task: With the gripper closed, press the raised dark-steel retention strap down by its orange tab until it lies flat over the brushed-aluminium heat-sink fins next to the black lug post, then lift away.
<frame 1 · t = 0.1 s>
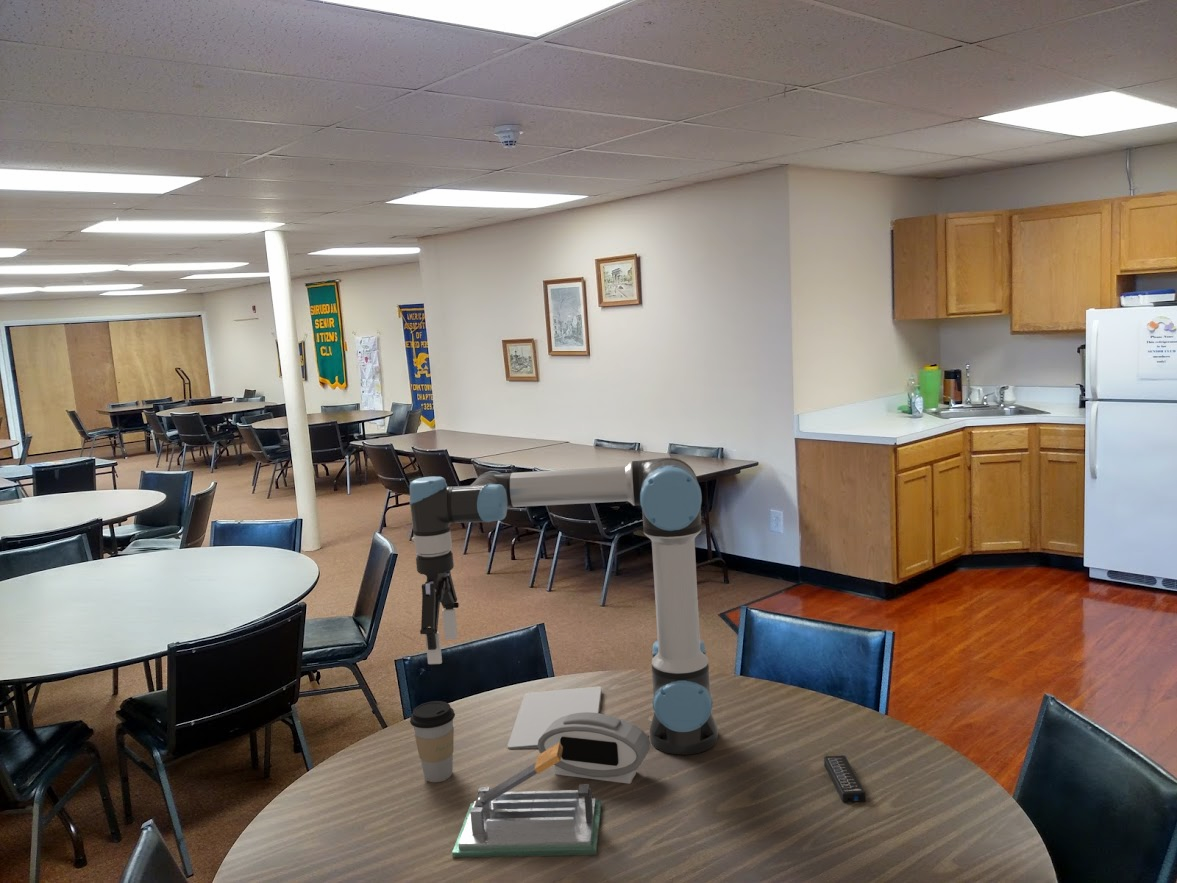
hand: (443, 650, 181), 28 cm above the table, fingers open, 13 cm apart
multiport hub: (844, 785, 171), on the table
heatsink: (530, 830, 162), on the table
coffee cup: (438, 775, 185), on the table
strap: (518, 778, 161), point 11 cm above the table, hinge at 30.0°
alarm clock: (595, 774, 181), on the table
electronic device: (557, 721, 208), on the table
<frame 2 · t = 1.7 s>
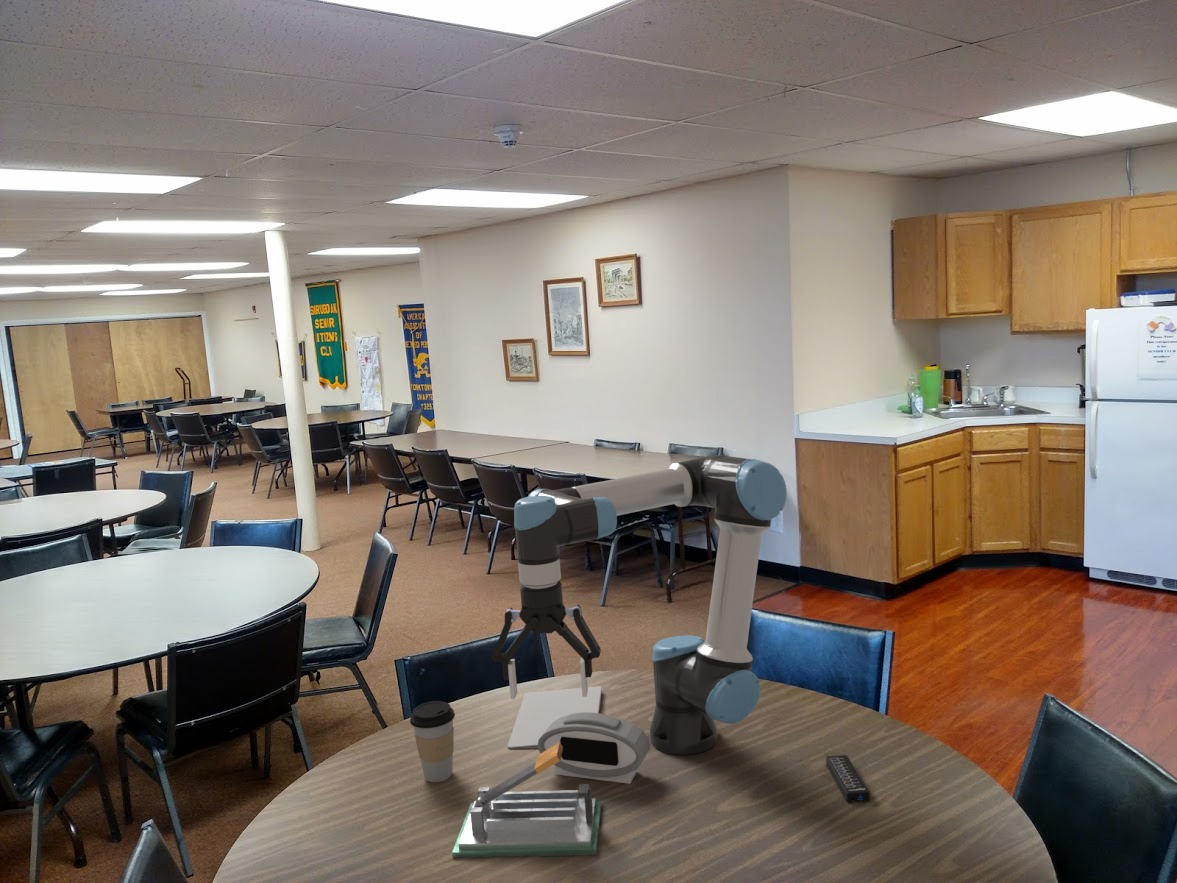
hand: (549, 694, 159), 27 cm above the table, fingers open, 12 cm apart
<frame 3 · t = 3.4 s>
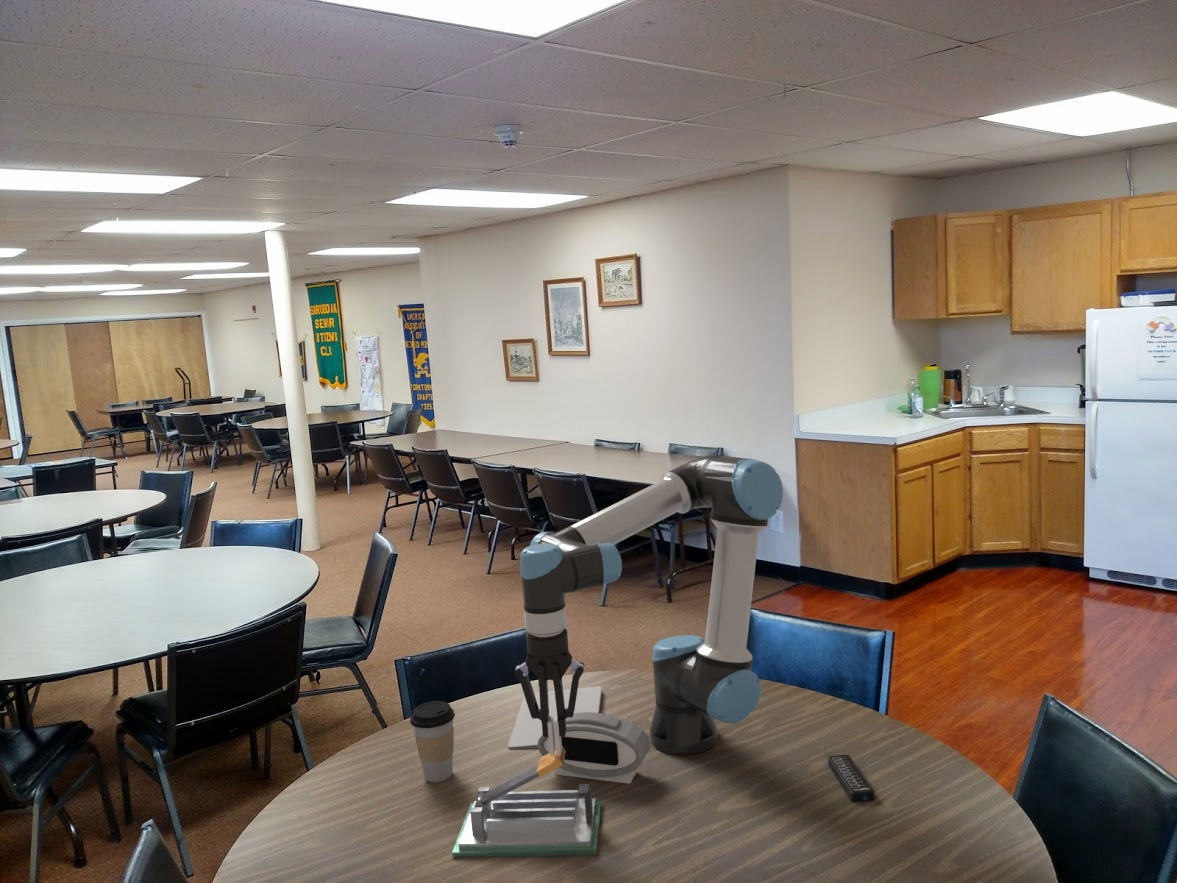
hand: (556, 752, 160), 16 cm above the table, fingers closed
strap: (519, 780, 161), point 10 cm above the table, hinge at 27.1°, touching gripper
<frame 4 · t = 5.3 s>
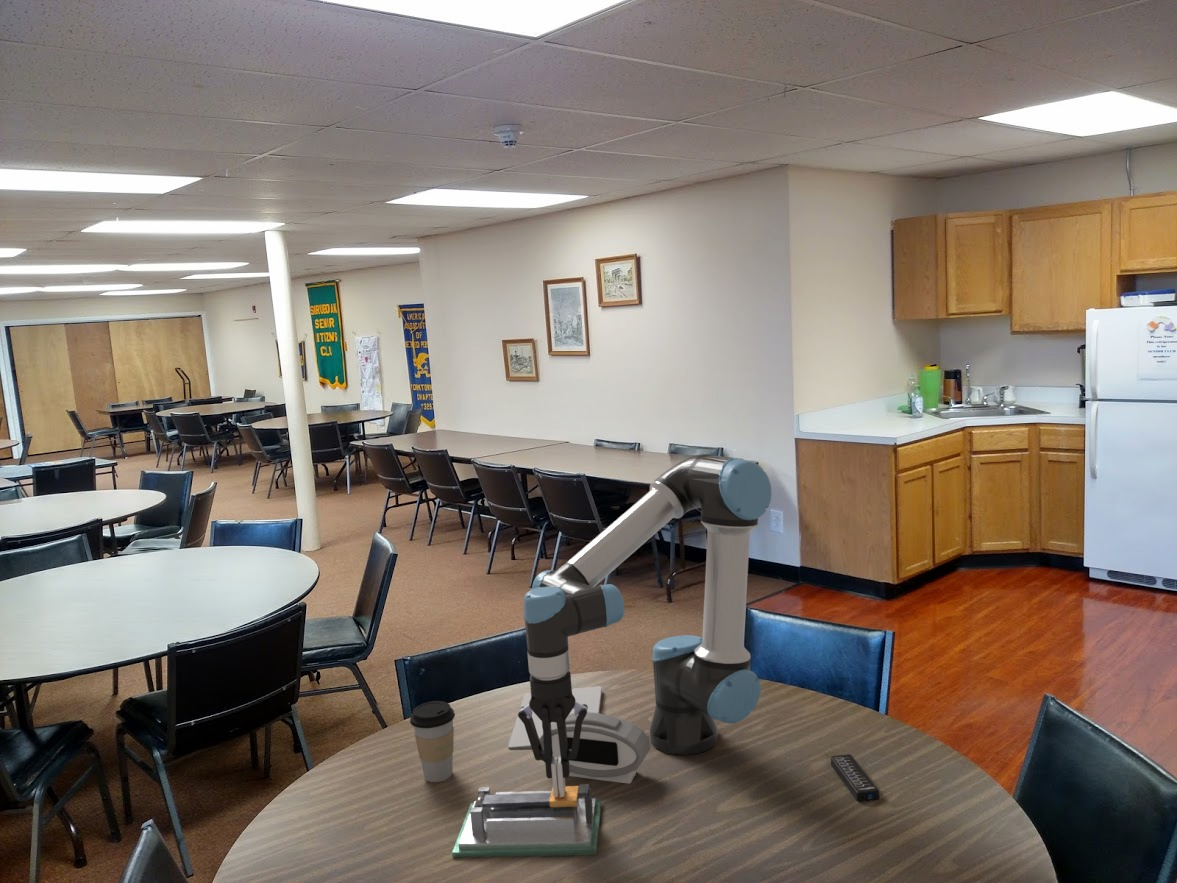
hand: (559, 793, 161), 7 cm above the table, fingers closed, pressing on strap
strap: (526, 799, 162), point 6 cm above the table, hinge at 0.7°, touching gripper
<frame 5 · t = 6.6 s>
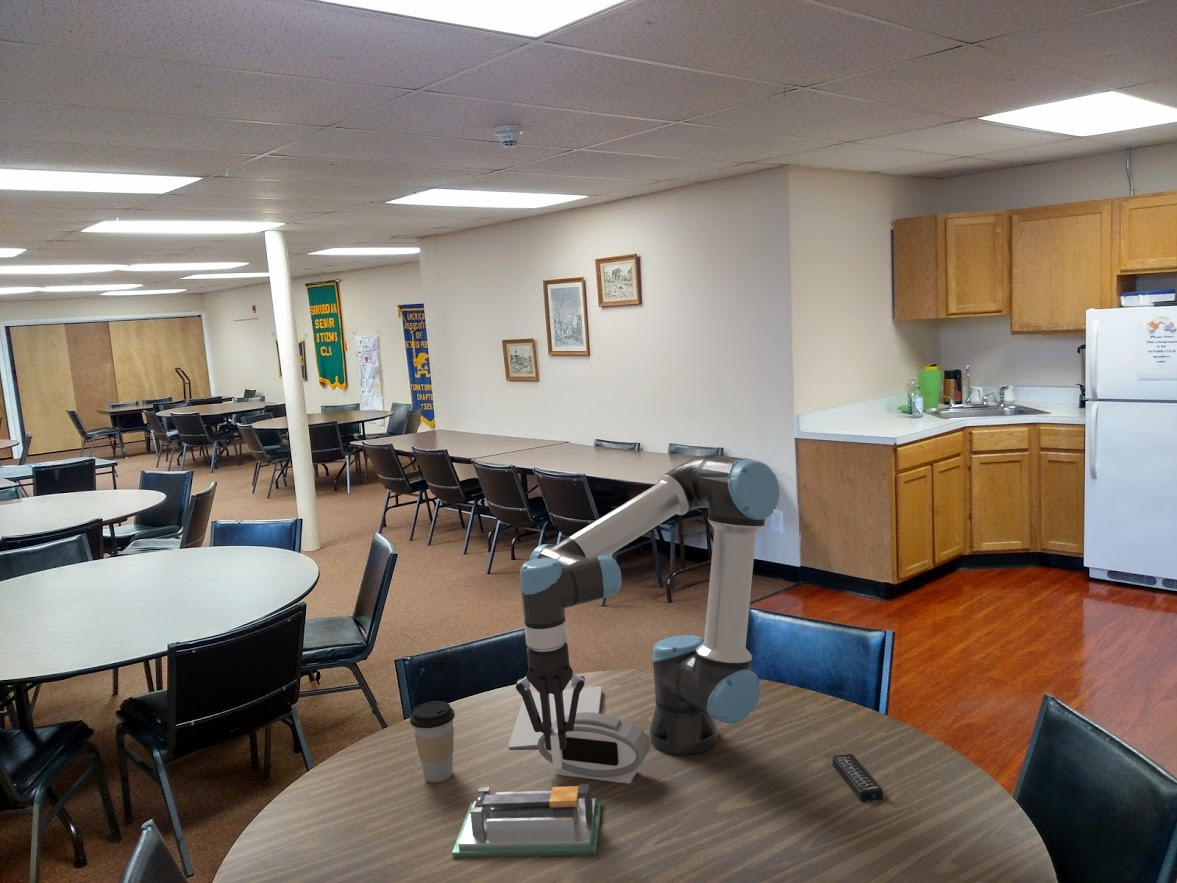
hand: (558, 764, 160), 13 cm above the table, fingers closed
strap: (526, 799, 162), point 6 cm above the table, hinge at 0.6°
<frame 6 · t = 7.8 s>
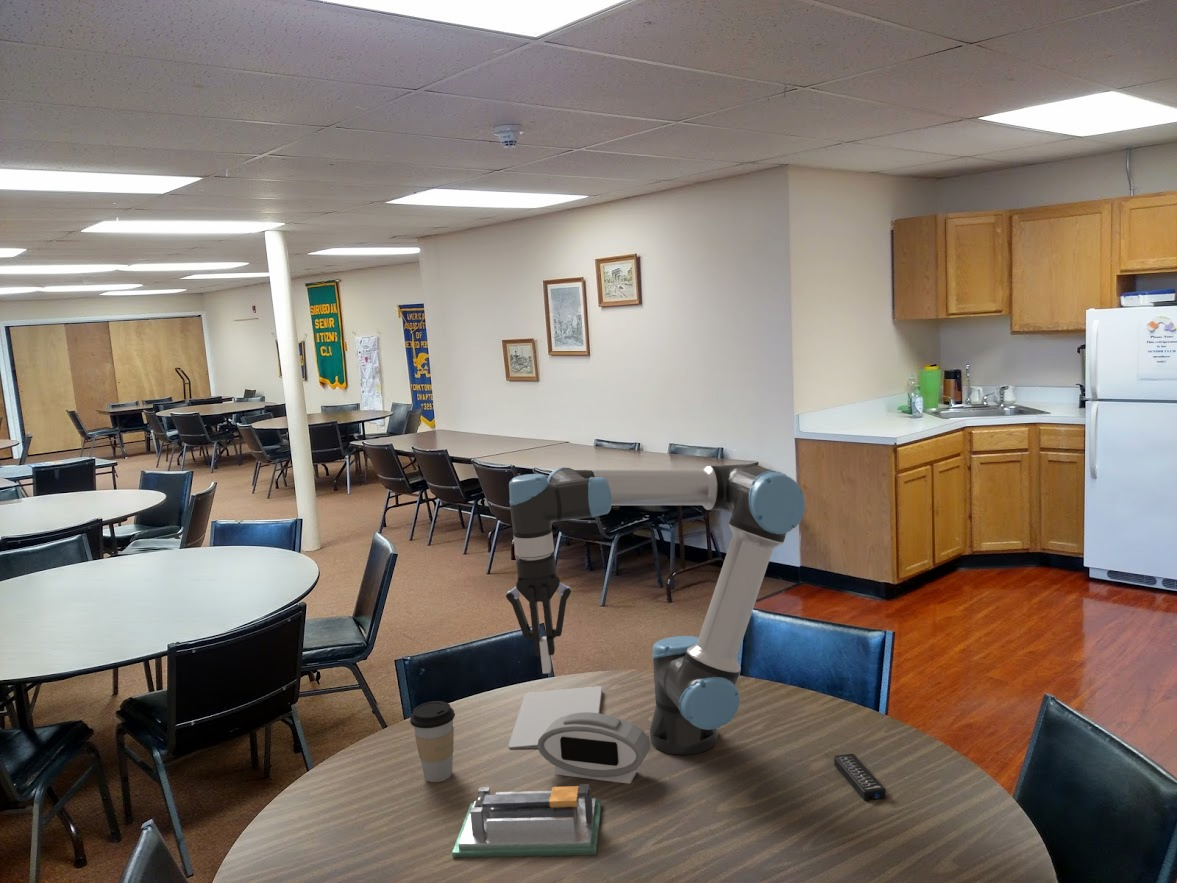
hand: (546, 670, 170), 27 cm above the table, fingers closed
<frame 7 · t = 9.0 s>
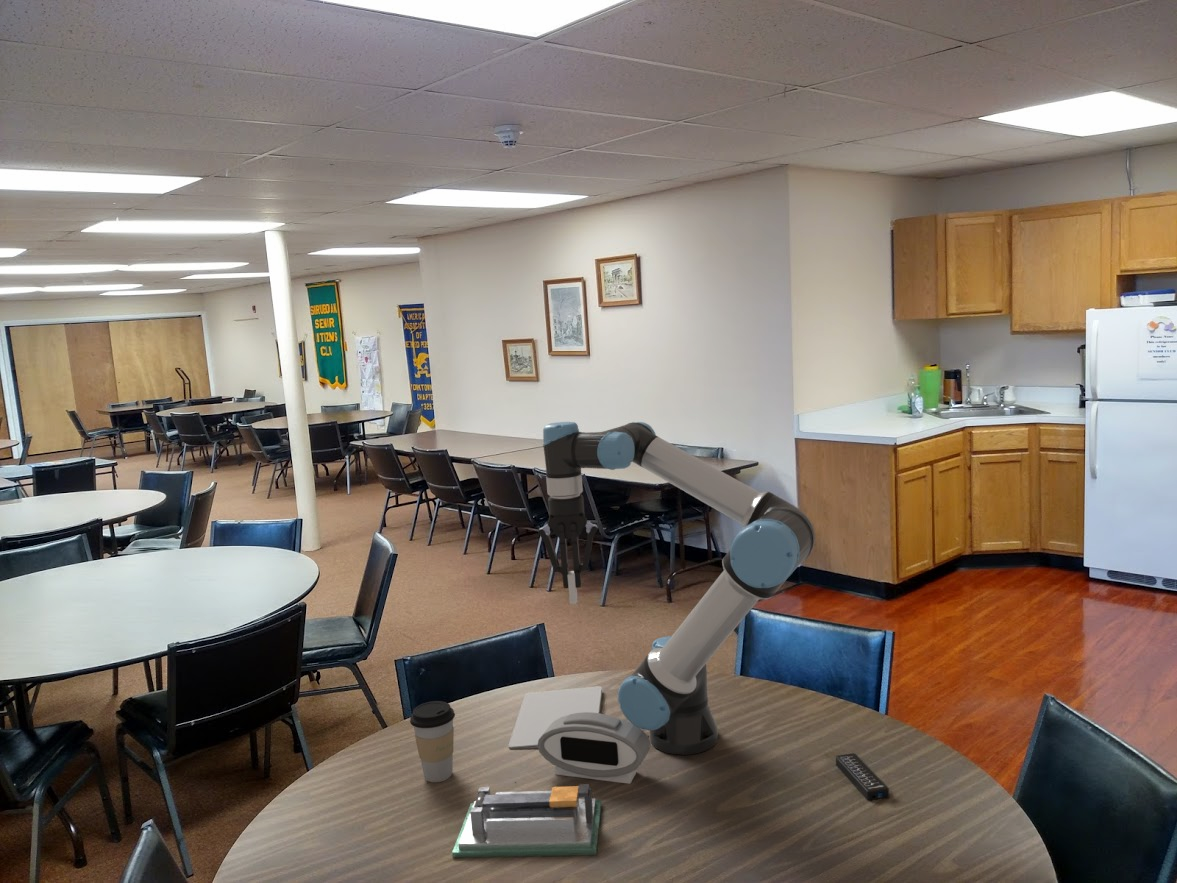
hand: (573, 601, 186), 34 cm above the table, fingers closed
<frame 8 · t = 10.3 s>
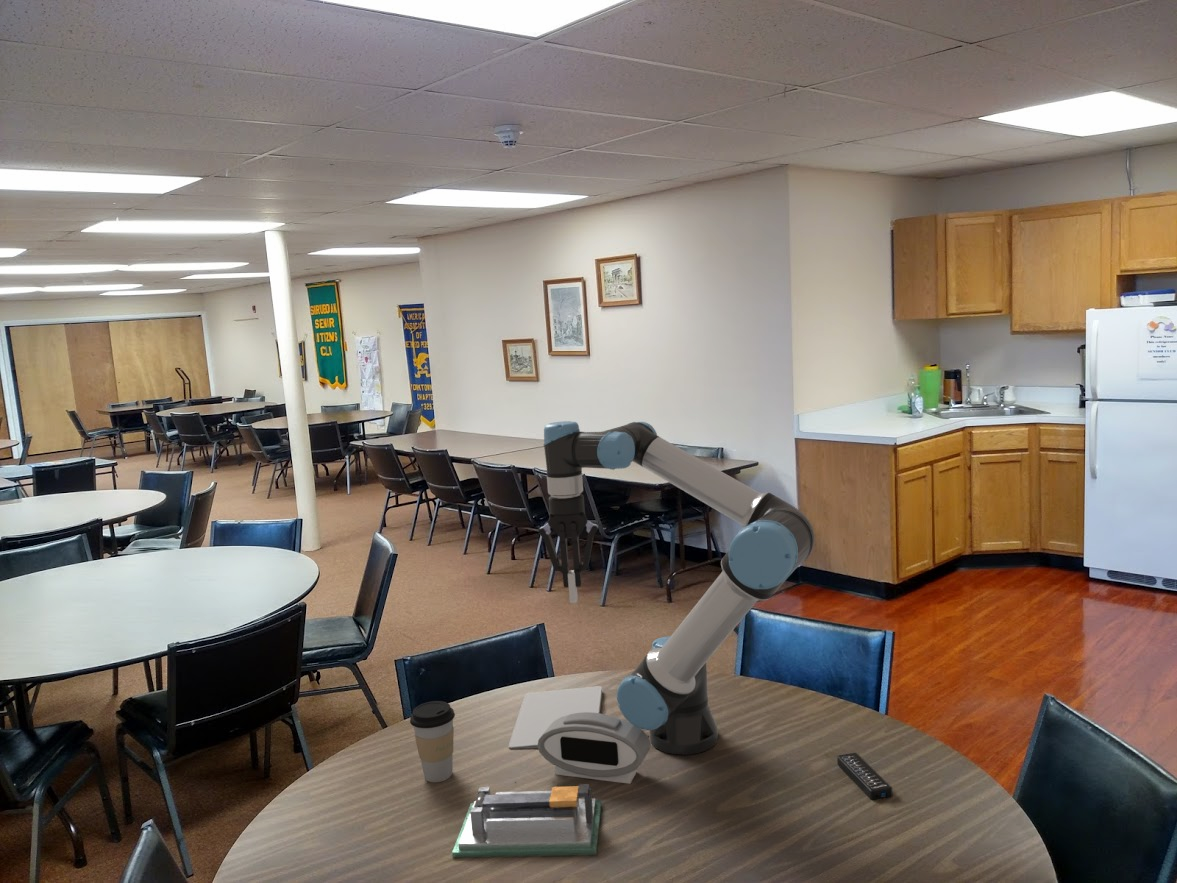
hand: (573, 601, 187), 34 cm above the table, fingers closed
at the end: strap at +1° (first picture: +30°) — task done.
